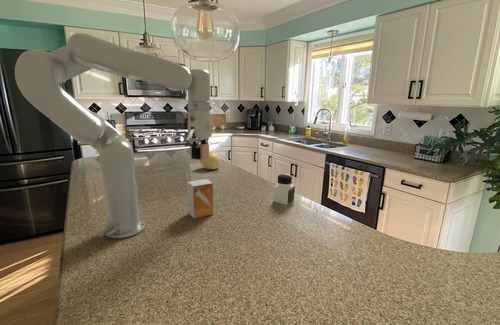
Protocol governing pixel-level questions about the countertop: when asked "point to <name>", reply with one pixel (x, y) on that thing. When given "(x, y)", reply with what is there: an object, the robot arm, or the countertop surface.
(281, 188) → the medicine bottle
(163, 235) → the countertop surface
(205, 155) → the terracotta block
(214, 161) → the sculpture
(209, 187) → the small box
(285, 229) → the countertop surface
